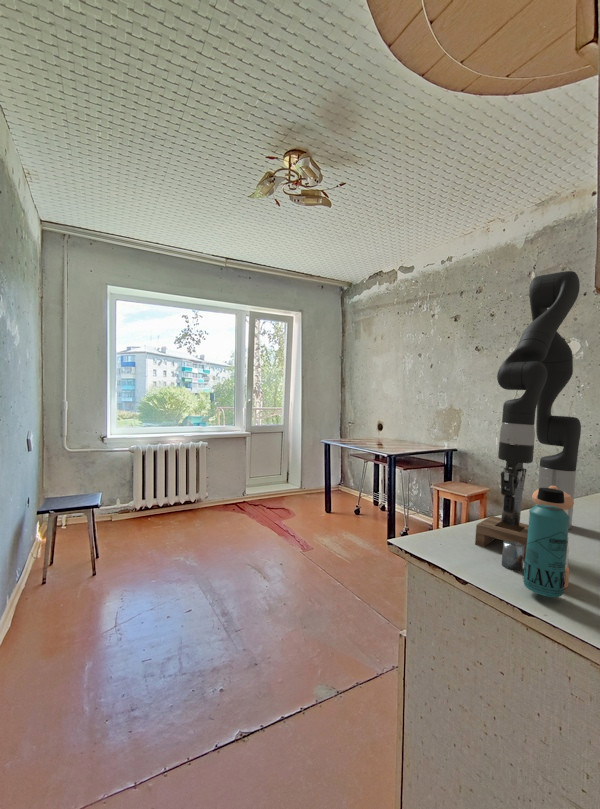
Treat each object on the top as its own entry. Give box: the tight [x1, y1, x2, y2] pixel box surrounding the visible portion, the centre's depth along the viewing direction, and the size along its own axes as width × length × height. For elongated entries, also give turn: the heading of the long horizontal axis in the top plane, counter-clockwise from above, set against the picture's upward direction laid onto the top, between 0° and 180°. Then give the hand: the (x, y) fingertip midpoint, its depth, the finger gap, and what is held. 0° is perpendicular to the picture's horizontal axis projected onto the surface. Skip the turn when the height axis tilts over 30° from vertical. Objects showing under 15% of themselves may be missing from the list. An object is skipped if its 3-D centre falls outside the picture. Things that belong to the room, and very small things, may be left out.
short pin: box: [501, 540, 525, 572], centre depth 81 cm, size 4×4×5 cm
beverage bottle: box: [522, 488, 570, 598], centre depth 69 cm, size 6×7×20 cm
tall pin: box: [500, 480, 525, 526], centre depth 93 cm, size 4×4×11 cm
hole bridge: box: [474, 515, 529, 560], centre depth 94 cm, size 12×12×5 cm
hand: (511, 510), depth 93 cm, fingers closed on tall pin, 4 cm apart
